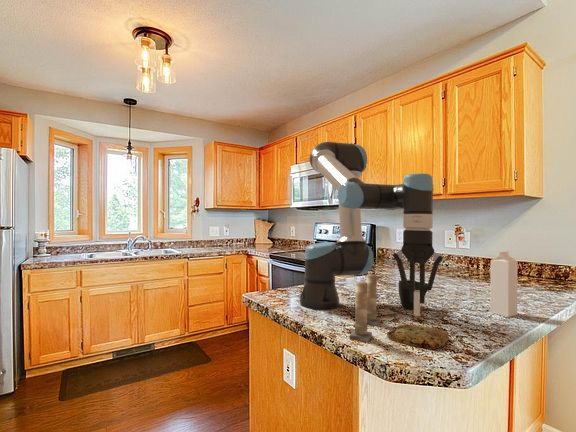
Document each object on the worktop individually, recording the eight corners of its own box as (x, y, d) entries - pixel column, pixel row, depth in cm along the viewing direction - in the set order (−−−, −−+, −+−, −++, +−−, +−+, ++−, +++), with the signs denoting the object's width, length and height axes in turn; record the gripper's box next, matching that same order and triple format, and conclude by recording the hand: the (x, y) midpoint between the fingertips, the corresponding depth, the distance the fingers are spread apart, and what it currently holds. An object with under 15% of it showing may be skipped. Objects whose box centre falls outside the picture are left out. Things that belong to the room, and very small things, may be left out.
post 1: (349, 338, 85) (350, 283, 85) (354, 332, 89) (354, 280, 89) (368, 342, 82) (368, 285, 83) (371, 335, 87) (372, 282, 87)
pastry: (467, 351, 78) (467, 339, 78) (401, 353, 77) (401, 341, 77) (430, 327, 96) (430, 318, 96) (375, 328, 94) (375, 318, 94)
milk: (517, 315, 109) (518, 252, 109) (508, 317, 106) (509, 252, 106) (498, 310, 114) (499, 250, 114) (489, 312, 111) (490, 251, 111)
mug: (435, 309, 114) (435, 283, 114) (407, 311, 111) (408, 285, 111) (419, 303, 122) (420, 279, 122) (393, 305, 119) (394, 280, 119)
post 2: (361, 323, 97) (361, 275, 97) (364, 319, 102) (365, 273, 102) (377, 326, 95) (378, 277, 95) (380, 321, 100) (380, 274, 100)
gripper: (391, 229, 86) (390, 314, 86) (443, 230, 80) (443, 322, 80) (394, 228, 93) (394, 307, 92) (443, 229, 87) (443, 314, 86)
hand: (416, 314), depth 86 cm, fingers closed
